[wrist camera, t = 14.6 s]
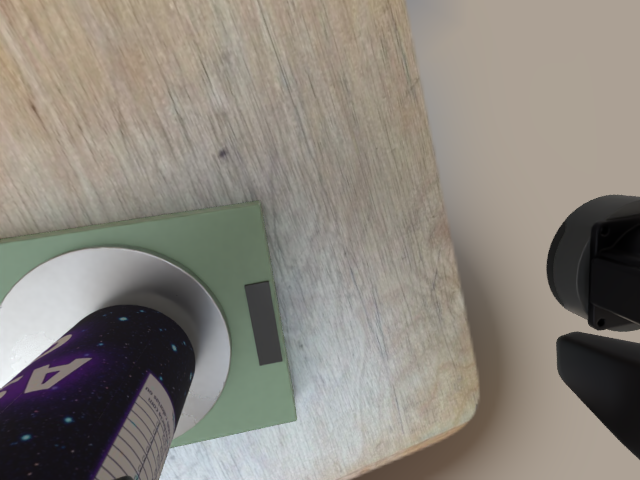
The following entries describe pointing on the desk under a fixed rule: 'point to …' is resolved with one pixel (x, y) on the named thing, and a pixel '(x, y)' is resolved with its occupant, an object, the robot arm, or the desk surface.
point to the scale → (163, 305)
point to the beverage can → (98, 400)
